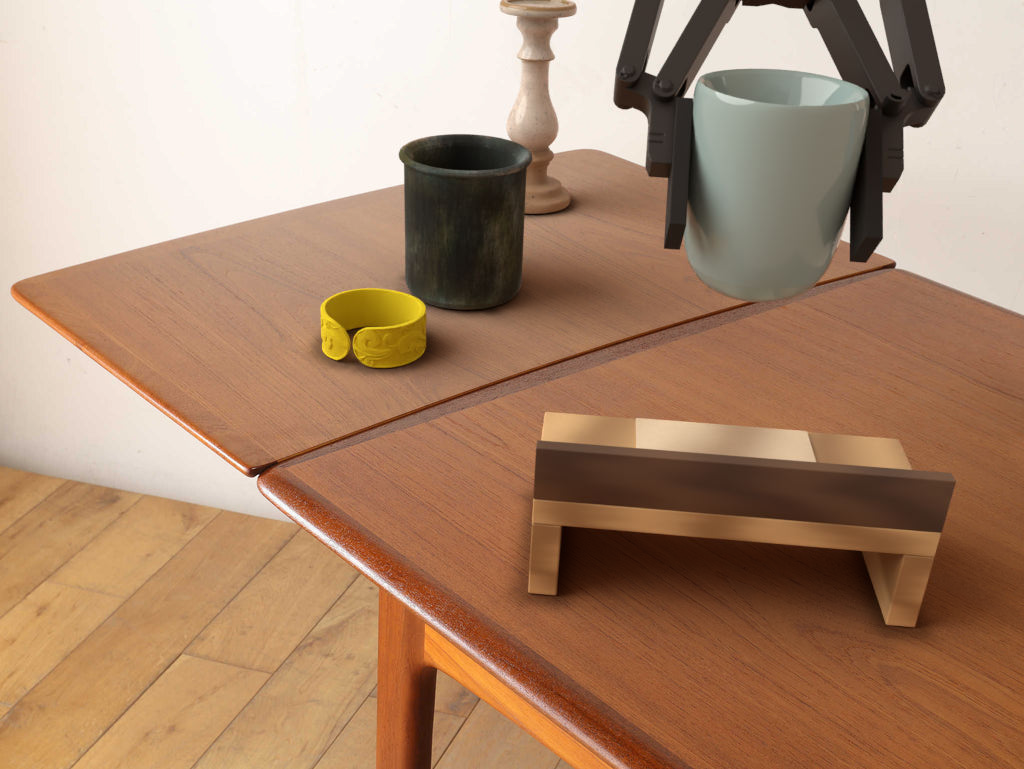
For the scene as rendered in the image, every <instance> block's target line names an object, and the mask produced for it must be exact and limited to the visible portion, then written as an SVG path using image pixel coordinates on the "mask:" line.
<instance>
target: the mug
mask: <svg viewBox="0 0 1024 769" xmlns="http://www.w3.org/2000/svg"><path fill="white" fill-rule="evenodd" d="M398 159H399V160H400V162H401V164H403V186H404V187H403V190H404V194H403V195H404V196H403V198H404V201H403V202H404V203H403V204H404V258H405V259H404V265H405V266H404V268H405V269H404V270H405V272H404V274H405V275H404V276H405V277H404V278H405V285H406V288H408V290H409V291H410V292H409V293H411V295H412V296H414V297H416V298H418V299H420V300H421V301H422V302H423V303H424V304H428V305H431V306H435V307H439V308H444V309H450V310H462V311H463V310H465V311H467V310H482V309H489V308H493V307H496V306H500V305H503V304H505V303H507V302H509V301H511V300H512V299H513V298H514V297H515V296H516V295H517V294H518V292H519V291H520V289H521V287H522V285H523V283H522V281H523V263H524V262H523V260H524V239H525V238H524V236H525V214H526V213H525V194H526V173H527V167H528V166H529V165H530V164H531V162H532V154H531V152H530V151H529V150H528V149H527V148H526V147H524V146H522V145H521V144H518V143H516V142H513V141H511V140H510V139H506V138H503V137H497V136H492V135H483V134H471V133H455V134H454V133H451V134H437V135H430V136H425V137H420V138H417V139H413V140H411V141H409V142H408V143H405V144H403V146H401V147H400V149H399V151H398Z"/></svg>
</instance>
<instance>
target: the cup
mask: <svg viewBox="0 0 1024 769" xmlns="http://www.w3.org/2000/svg"><path fill="white" fill-rule="evenodd" d="M692 98H693V110H692V128H691V147H690V166H689V184H688V203H687V221H686V228H685V232H684V236H683V239H682V242H683V247H684V251H685V254H686V259H687V262H688V263H689V267H690V269H691V270H692V272H693V273H694V274H695V275H696V277H697V278H698V279H699V280H700V281H701V282H702V283H703V284H704V285H705V286H707V288H709V289H711V290H712V291H714V292H716V293H718V294H720V295H721V296H725V297H727V298H730V299H733V300H736V301H742V302H746V303H747V302H748V303H760V304H763V303H777V302H782V301H787V300H788V301H789V300H791V299H794V298H797V297H799V296H801V295H804V294H805V293H807V292H809V291H810V290H811V289H813V288H814V287H815V286H816V285H817V284H818V283H819V282H820V280H821V279H822V278H823V277H824V276H825V274H826V272H827V271H828V269H829V267H830V266H831V264H832V262H833V260H834V257H835V255H836V253H837V251H838V247H839V245H840V243H841V240H842V237H843V234H844V230H845V226H846V224H847V220H848V216H849V213H850V204H851V200H852V196H853V191H854V187H855V182H856V178H857V173H858V168H859V163H860V158H861V153H862V148H863V143H864V138H865V132H866V127H867V121H868V115H869V107H870V98H869V94H868V92H867V91H865V90H864V89H863V88H861V87H859V86H857V85H855V84H852V83H849V82H847V81H843V80H842V79H839V78H836V77H832V76H828V75H824V74H818V73H813V72H807V71H799V70H791V69H780V68H779V69H777V68H734V69H724V70H715V71H711V72H707V73H704V74H702V75H700V76H699V78H698V79H697V81H696V84H695V87H694V91H693V96H692Z"/></svg>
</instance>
